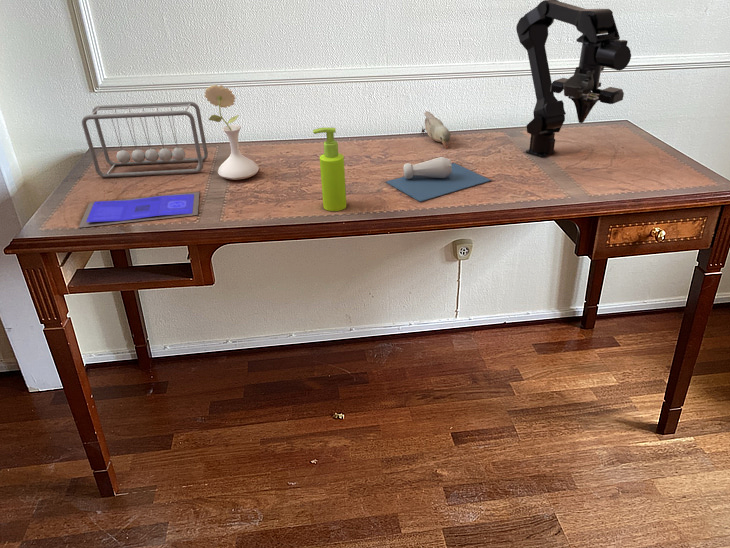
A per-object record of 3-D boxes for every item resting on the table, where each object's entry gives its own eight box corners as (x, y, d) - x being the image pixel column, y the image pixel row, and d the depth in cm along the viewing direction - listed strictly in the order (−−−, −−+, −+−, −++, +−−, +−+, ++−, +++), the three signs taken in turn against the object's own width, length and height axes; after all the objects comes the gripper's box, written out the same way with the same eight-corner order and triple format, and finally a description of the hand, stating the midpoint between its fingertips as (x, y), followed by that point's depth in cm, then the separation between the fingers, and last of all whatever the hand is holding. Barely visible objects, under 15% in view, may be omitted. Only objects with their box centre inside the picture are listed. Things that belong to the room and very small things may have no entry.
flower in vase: (267, 171, 174) (255, 82, 160) (243, 186, 165) (229, 92, 152) (230, 165, 179) (215, 78, 165) (205, 179, 170) (188, 88, 156)
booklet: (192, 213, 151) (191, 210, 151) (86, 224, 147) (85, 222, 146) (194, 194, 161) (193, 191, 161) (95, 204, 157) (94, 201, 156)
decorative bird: (439, 150, 187) (440, 125, 182) (418, 134, 199) (418, 111, 195) (455, 147, 188) (456, 123, 184) (433, 132, 201) (433, 109, 196)
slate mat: (454, 163, 177) (454, 162, 176) (490, 181, 165) (490, 180, 165) (385, 182, 166) (385, 181, 166) (420, 202, 155) (420, 201, 154)
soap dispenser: (319, 202, 156) (312, 125, 145) (346, 200, 156) (341, 124, 145) (319, 212, 151) (312, 133, 140) (346, 210, 151) (342, 131, 140)
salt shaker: (451, 160, 162) (403, 165, 162) (452, 180, 165) (405, 185, 165) (448, 152, 166) (401, 158, 167) (449, 172, 170) (403, 177, 170)
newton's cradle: (97, 178, 172) (78, 116, 162) (107, 165, 181) (90, 105, 171) (204, 173, 174) (192, 111, 164) (209, 160, 183) (198, 100, 173)
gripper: (542, 62, 158) (535, 122, 166) (607, 74, 146) (596, 137, 155) (566, 55, 164) (558, 113, 172) (630, 66, 152) (618, 127, 161)
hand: (581, 122), depth 165 cm, fingers closed
